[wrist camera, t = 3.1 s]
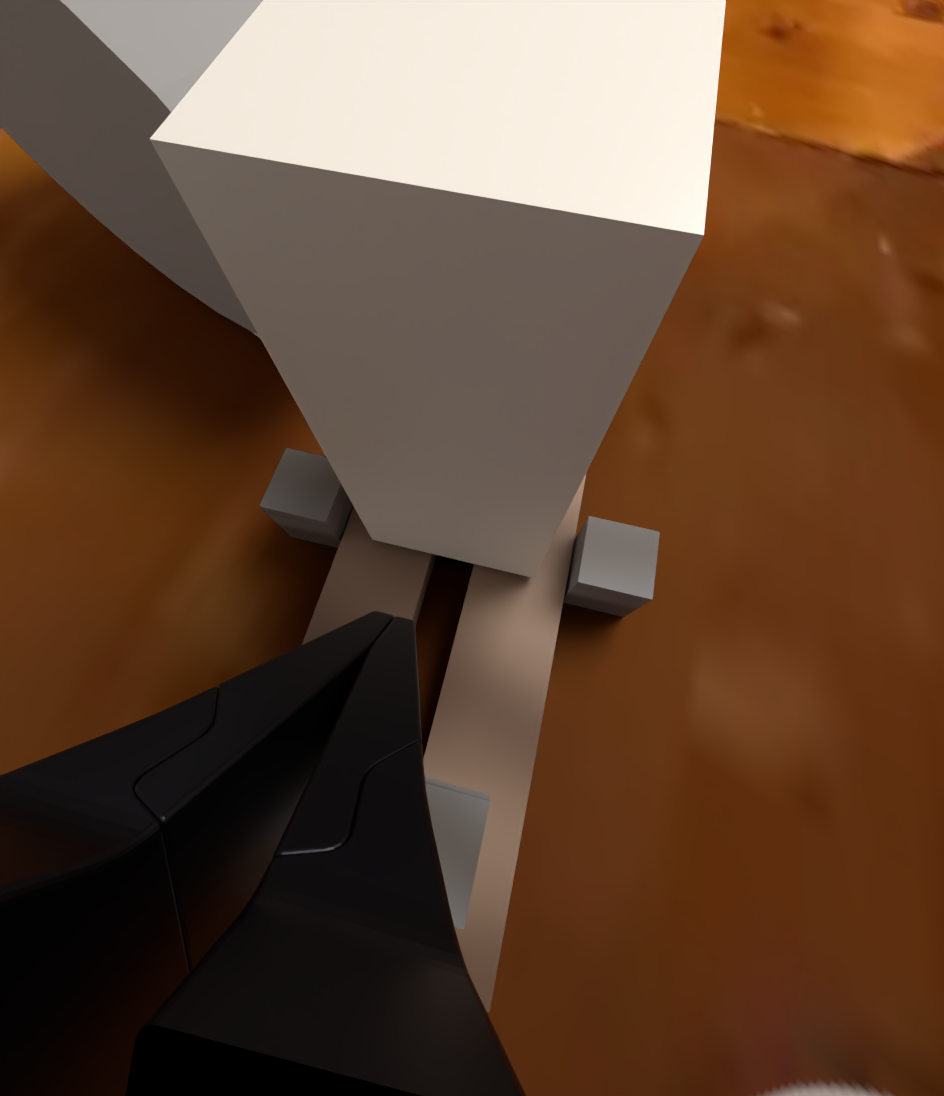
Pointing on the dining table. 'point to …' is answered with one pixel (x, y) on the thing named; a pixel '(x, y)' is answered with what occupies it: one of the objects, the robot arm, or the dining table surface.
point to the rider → (455, 236)
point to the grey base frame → (470, 672)
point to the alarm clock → (118, 115)
